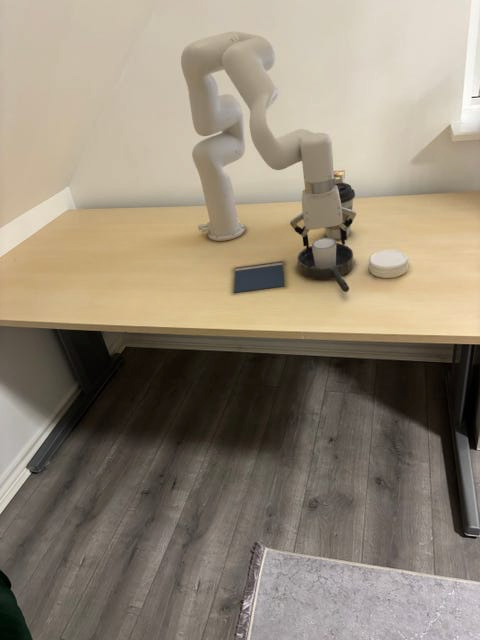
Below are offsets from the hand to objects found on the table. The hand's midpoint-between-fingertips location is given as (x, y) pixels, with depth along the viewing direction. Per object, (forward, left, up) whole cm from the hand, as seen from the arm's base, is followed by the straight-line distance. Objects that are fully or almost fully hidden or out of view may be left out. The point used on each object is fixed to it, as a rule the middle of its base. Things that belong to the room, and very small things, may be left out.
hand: (325, 245), depth 137 cm
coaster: (+16, -6, -7) cm, 18 cm away
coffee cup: (+6, +19, -7) cm, 21 cm away
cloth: (-19, -1, -7) cm, 21 cm away
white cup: (0, 0, -7) cm, 7 cm away
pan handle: (+2, -12, -5) cm, 13 cm away
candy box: (+6, +32, -7) cm, 34 cm away
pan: (0, 0, -7) cm, 7 cm away
